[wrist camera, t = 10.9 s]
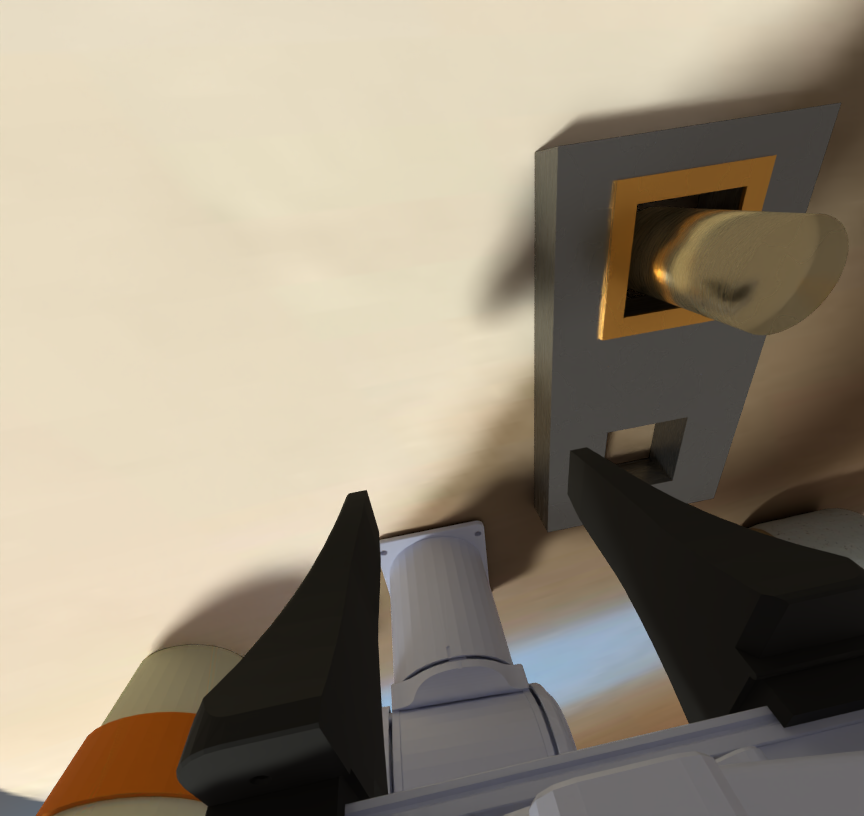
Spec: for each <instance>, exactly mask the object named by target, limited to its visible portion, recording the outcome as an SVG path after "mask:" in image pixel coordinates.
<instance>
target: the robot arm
mask: <svg viewBox="0 0 864 816" xmlns="http://www.w3.org/2000/svg"><path fill="white" fill-rule="evenodd" d="M567 494H568V496H569V499H570V501H571V503H572V505H573V507H574V509H575V511H576V513H577V515H578V517H579V519H580V521H581V522H582V524H583V525H584V527H585V528H586V530H587V532H588V533H589V535H590V536H591V538H592V539H593V541H594V542H595V544H596V545H597V547H598V548H599V550H600V551H601V553H602V554H603V556H604V557H605V559H606V560H607V562H608V563H609V565H610V566H611V568H612V569H613V571H614V572H615V574H616V576H617V577H618V579H619V581H620V582H621V584H622V585H623V587H624V589H625V591H626V593H627V595H628V597H629V598H630V600H631V602H632V604H633V606H634V608H635V610H636V612H637V614H638V615H639V617H640V619H641V621H642V623H643V625H644V627H645V629H646V631H647V633H648V635H649V637H650V639H651V641H652V643H653V645H654V647H655V650H656V652H657V654H658V656H659V658H660V660H661V662H662V664H663V667H664V669H665V671H666V673H667V675H668V677H669V679H670V681H671V684H672V686H673V688H674V691H675V693H676V695H677V697H678V700H679V702H680V704H681V706H682V709H683V711H684V713H685V715H686V718H687V720H688V723H689V724H687V725H682V726H678V727H674V728H670V729H665V730H661V731H657V732H652V733H648V734H644V735H640V736H635V737H631V738H627V739H623V740H618V741H614V742H610V743H606V744H601V745H597V746H593V747H588V748H584V749H580V750H577V749H576V746H575V743H574V740H573V737H572V734H571V731H570V729H569V726H568V724H567V721H566V719H565V717H564V715H563V713H562V711H561V709H560V707H559V705H558V704H557V702H556V701H555V699H554V698H553V697H552V696H551V695H550V694H549V693H548V692H546V690H545V689H544V688H543V687H542V686H541V685H540V684H538V683H531V684H528V682H527V678H526V675H525V672H524V669H523V666H522V665H521V664H517V665H513V662H512V659H511V656H510V652H509V649H508V646H507V642H506V639H505V635H504V632H503V629H502V625H501V622H500V619H499V615H498V612H497V608H496V605H495V602H494V598H493V595H492V592H491V588H490V585H489V575H488V564H487V554H486V543H485V533H484V526H483V523H482V522H481V521H472V522H467V523H462V524H457V525H452V526H447V527H442V528H437V529H432V530H427V531H422V532H417V533H412V534H407V535H402V536H397V537H392V538H387V539H382V540H380V539H379V530H378V527H377V523H376V520H375V517H374V513H373V510H372V506H371V503H370V500H369V496H368V493H367V490H364V491H359V492H354V493H349V494H348V495H347V497H346V499H345V502H344V504H343V507H342V509H341V512H340V514H339V516H338V518H337V520H336V523H335V525H334V527H333V529H332V531H331V533H330V535H329V537H328V539H327V541H326V543H325V545H324V547H323V549H322V550H321V552H320V554H319V556H318V557H317V559H316V561H315V563H314V564H313V566H312V568H311V569H310V571H309V573H308V574H307V576H306V578H305V579H304V581H303V582H302V584H301V585H300V587H299V588H298V590H297V591H296V593H295V594H294V595H293V597H292V598H291V600H290V601H289V602H288V604H287V605H286V606H285V608H284V609H283V610H282V612H281V613H280V614H279V616H278V617H277V618H276V620H275V621H274V622H273V623H272V625H271V626H270V627H269V628H268V630H267V631H266V632H265V633H264V634H263V635H262V637H261V638H260V639H259V640H258V641H257V642H256V643H255V645H254V646H253V647H252V648H251V649H250V650H249V652H248V653H247V654H246V655H245V656H244V657H243V658H242V659H241V660H240V662H239V663H238V664H237V665H236V666H235V667H234V668H233V669H232V670H231V671H230V672H229V673H228V674H227V675H226V676H225V677H224V678H223V679H222V680H221V681H220V682H219V683H218V684H217V685H216V686H215V687H214V688H213V689H212V690H211V691H210V692H209V693H208V694H207V695H206V696H205V697H203V699H202V702H201V705H200V707H199V709H198V711H197V713H196V716H195V718H194V720H193V723H192V726H191V728H190V731H189V734H188V737H187V740H186V743H185V746H184V749H183V752H182V755H181V758H180V761H179V764H178V766H177V769H176V775H177V779H178V781H179V783H180V784H181V785H182V786H183V787H184V788H185V789H186V790H187V791H189V792H190V793H191V794H192V795H194V796H195V797H196V798H198V799H199V800H200V801H202V802H203V803H204V804H205V805H207V806H208V807H207V811H206V814H205V816H864V569H863V568H862V567H860V566H859V565H858V564H857V563H855V562H854V561H853V560H851V559H850V558H848V557H845V556H841V555H837V554H833V553H829V552H826V551H822V550H818V549H814V548H810V547H806V546H803V545H799V544H795V543H792V542H789V541H785V540H782V539H779V538H776V537H773V536H769V535H766V534H763V533H760V532H757V531H754V530H751V529H748V528H746V527H743V526H740V525H738V524H735V523H732V522H730V521H727V520H724V519H722V518H719V517H717V516H714V515H712V514H709V513H707V512H705V511H702V510H700V509H698V508H696V507H694V506H691V505H689V504H687V503H685V502H683V501H680V500H678V499H676V498H674V497H672V496H670V495H668V494H667V493H665V492H663V491H661V490H659V489H657V488H655V487H653V486H651V485H650V484H648V483H646V482H644V481H642V480H641V479H639V478H637V477H635V476H634V475H632V474H630V473H629V472H627V471H625V470H624V469H622V468H620V467H619V466H617V465H615V464H614V463H612V462H611V461H609V460H607V459H606V458H604V457H602V456H601V455H599V454H597V453H596V452H594V451H592V450H591V449H589V448H587V447H585V448H580V449H575V450H570V458H569V475H568V492H567ZM477 531H479V532H477ZM384 550H385V551H384ZM381 568H382V571H383V575H384V578H385V581H386V584H387V587H388V591H389V594H390V597H391V621H392V645H393V669H394V684H392V685H391V692H392V713H391V710H390V706H388V707H382V704H381V687H380V669H379V648H378V618H379V595H380V572H381Z"/></svg>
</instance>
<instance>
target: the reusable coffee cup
mask: <svg viewBox="0 0 864 816" xmlns="http://www.w3.org/2000/svg"><path fill="white" fill-rule="evenodd" d="M241 659H242V657H241V656H239V655H238V654H236V653H234V652H232V651H229V650H226V649H223V648H219V647H214V646H207V645H182V646H175V647H170V648H166V649H163V650H160V651H157V652H155V653H153V654H152V655H150V656H148V657H147V658H146V659H145V660H143V661H142V663H141V664H140V666H139V667H138V669H137V670H136V672H135V674H134V675H133V677H132V678H131V680H130V681H129V683H128V685H127V686H126V688H125V689H124V691H123V692H122V694H121V696H120V697H119V699H118V700H117V702H116V703H115V705H114V707H113V708H112V710H111V711H110V713H109V714H108V716H107V718H106V719H105V721H104V722H103V724H102V725H101V727H99V728H97V729H95V730H94V731H93V732H92V733H91V734H89V735H88V736H87V738H86V739H85V741H84V742H83V744H82V745H81V747H80V749H79V750H78V752H77V753H76V755H75V756H74V758H73V759H72V761H71V762H70V764H69V765H68V767H67V769H66V770H65V772H64V773H63V775H62V776H61V778H60V779H59V781H58V782H57V784H56V785H55V787H54V788H53V790H52V792H51V793H50V795H49V796H48V798H47V799H46V801H45V802H44V804H43V806H42V807H41V808H40V810H39V812H38V813H37V815H36V816H205V814H206V811H207V807H208V806H207V805H205V804H204V803H203V802H202V801H200V800H199V799H198V798H196V797H195V796H194V795H192V794H191V793H190V792H189V791H187V790H186V789H185V788H184V787H183V786H182V785H181V784H180V783H179V781H178V779H177V775H176V769H177V766H178V764H179V761H180V758H181V755H182V752H183V749H184V746H185V743H186V740H187V737H188V734H189V731H190V728H191V726H192V723H193V720H194V718H195V716H196V713H197V711H198V709H199V707H200V705H201V702H202V699H203V697H205V696H206V695H207V694H208V693H209V692H210V691H211V690H212V689H213V688H214V687H215V686H216V685H217V684H218V683H219V682H220V681H221V680H222V679H223V678H224V677H225V676H226V675H227V674H228V673H229V672H230V671H231V670H232V669H233V668H234V667H235V666H236V665H237V664H238V663H239V662H240V660H241Z"/></svg>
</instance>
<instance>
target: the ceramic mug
mask: <svg viewBox="0 0 864 816" xmlns="http://www.w3.org/2000/svg"><path fill="white" fill-rule="evenodd" d="M748 529H751V530H754V531H757V532H760V533H763V534H766V535H769V536H773V537H776V538H779V539H782V540H785V541H789V542H792V543H795V544H799V545H803V546H806V547H810V548H814V549H818V550H822V551H826V552H829V553H833V554H837V555H841V556H845V557H848V558H850V559H851V560H853V561H854V562H855V563H857V564H858V565H859V566H860V567H862V568H863V569H864V516H863V515H861V514H859V513H856V512H853V511H850V510H846V509H839V508H832V509H824V510H819V511H815V512H811V513H806V514H801V515H797V516H792V517H789V518H785V519H780V520H775V521H770V522H766V523H761V524H757V525H755V526H753V527H750V528H748Z"/></svg>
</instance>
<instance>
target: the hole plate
mask: <svg viewBox="0 0 864 816" xmlns="http://www.w3.org/2000/svg"><path fill="white" fill-rule="evenodd" d="M840 105H841V103H836V104H830V105H823V106H817V107H810V108H804V109H797V110H791V111H784V112H778V113H771V114H765V115H758V116H752V117H745V118H739V119H732V120H726V121H719V122H713V123H707V124H700V125H694V126H687V127H681V128H674V129H668V130H661V131H655V132H648V133H642V134H635V135H629V136H622V137H616V138H609V139H603V140H596V141H590V142H584V143H577V144H571V145H564V146H558V147H554V148H550V149H546V150H542V151H538V152H535V388H534V507H535V509H536V510H537V512H538V514H539V516H540V518H541V520H542V522H543V524H544V526H545V528H546V530H547V532H551V531H556V530H561V529H566V528H571V527H576V526H580V525H583V524H582V522H581V521H580V519H579V517H578V515H577V513H576V511H575V509H574V507H573V505H572V503H571V501H570V499H569V496H568V494H567V492H568V475H569V458H570V450H575V449H580V448H585V447H587V448H589V449H591V450H592V451H594V452H596V453H597V454H599V455H601V456H602V457H604V458H605V449H606V441H607V433H608V432H613V431H618V430H623V429H629V428H634V427H639V426H644V425H649V424H654V423H656V424H655V429H654V435H653V440H652V445H651V450H650V455H649V458H647V459H642V460H636V461H631V462H626V463H621V464H616V465H617V466H619V467H620V468H622V469H624V470H625V471H627V472H629V473H630V474H632V475H634V476H635V477H637V478H639V479H641V480H642V481H644V482H646V483H648V484H650V485H651V486H653V487H655V488H657V489H659V490H661V491H663V492H665V493H667V494H668V495H670V496H672V497H674V498H676V499H678V500H680V501H683V502H685V503H687V504H688V503H693V502H698V501H703V500H707V499H712V498H714V496H715V493H716V489H717V486H718V483H719V480H720V477H721V474H722V471H723V468H724V465H725V462H726V459H727V455H728V452H729V449H730V446H731V443H732V440H733V437H734V434H735V431H736V428H737V424H738V421H739V418H740V415H741V412H742V409H743V406H744V403H745V400H746V397H747V393H748V390H749V387H750V384H751V381H752V378H753V375H754V372H755V369H756V366H757V362H758V359H759V356H760V353H761V350H762V347H763V344H764V341H765V338H766V335H755V334H751V333H748V332H746V331H743V330H740V329H738V328H735V327H732V326H729V325H727V324H724V323H721V322H719V321H716V320H713V319H711V318H708V317H705V316H702V315H700V314H697V313H694V312H692V311H689V310H686V309H684V308H681V307H678V306H675V305H673V304H670V303H667V302H665V301H662V300H659V299H656V298H654V297H651V296H648V295H646V296H640V297H634V298H629V299H626V293H627V285H628V276H629V268H630V260H631V252H632V244H633V235H634V227H635V219H636V211H637V204H640V203H646V202H652V201H658V200H665V199H671V198H677V197H683V196H689V195H695V194H700V196H699V201H698V206H697V208H699V209H721V210H744V211H766V212H789V213H806V211H807V208H808V204H809V201H810V198H811V195H812V192H813V189H814V186H815V183H816V180H817V177H818V173H819V170H820V167H821V164H822V161H823V158H824V155H825V152H826V149H827V146H828V142H829V139H830V136H831V133H832V130H833V127H834V124H835V121H836V118H837V115H838V111H839V108H840Z"/></svg>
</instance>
